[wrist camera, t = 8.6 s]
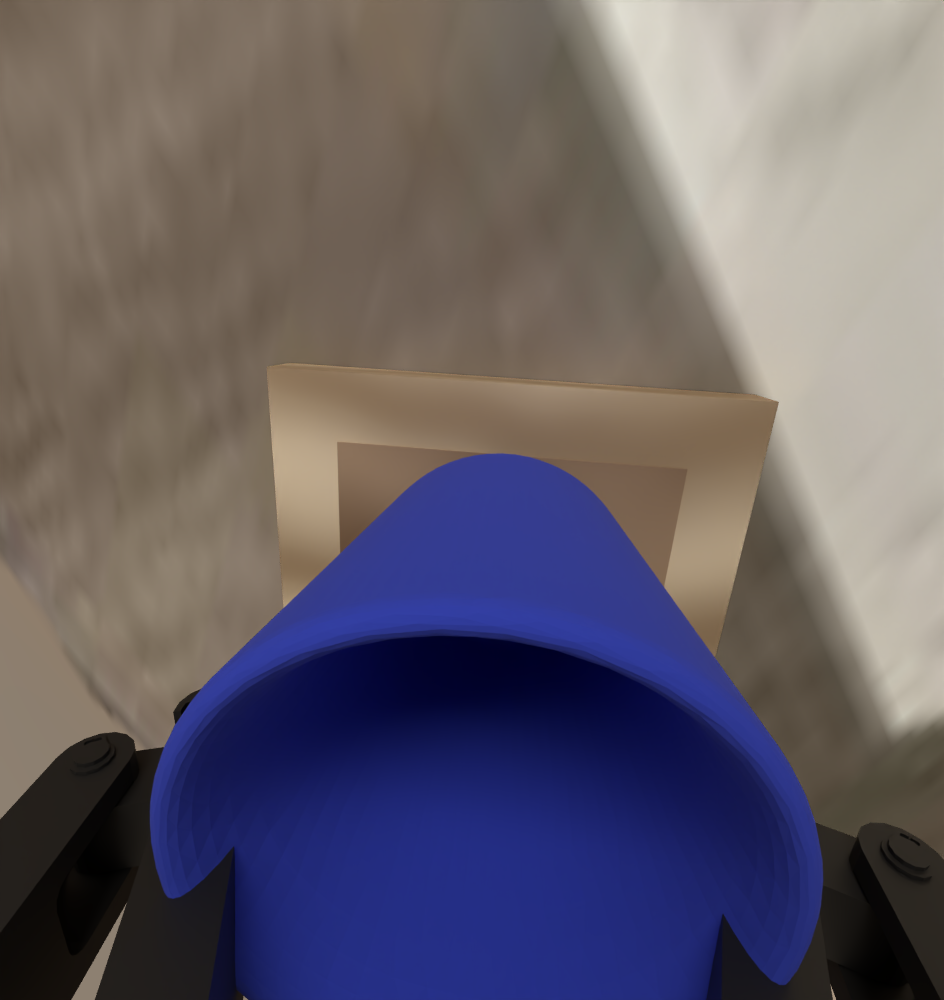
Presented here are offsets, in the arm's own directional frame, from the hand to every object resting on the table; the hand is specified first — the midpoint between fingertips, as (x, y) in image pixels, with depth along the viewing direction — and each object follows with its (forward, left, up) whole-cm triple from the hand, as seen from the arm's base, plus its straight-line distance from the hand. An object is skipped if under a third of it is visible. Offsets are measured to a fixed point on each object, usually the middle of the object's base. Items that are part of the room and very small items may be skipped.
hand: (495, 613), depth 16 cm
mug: (0, +1, -1) cm, 1 cm away
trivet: (0, 0, -2) cm, 2 cm away
